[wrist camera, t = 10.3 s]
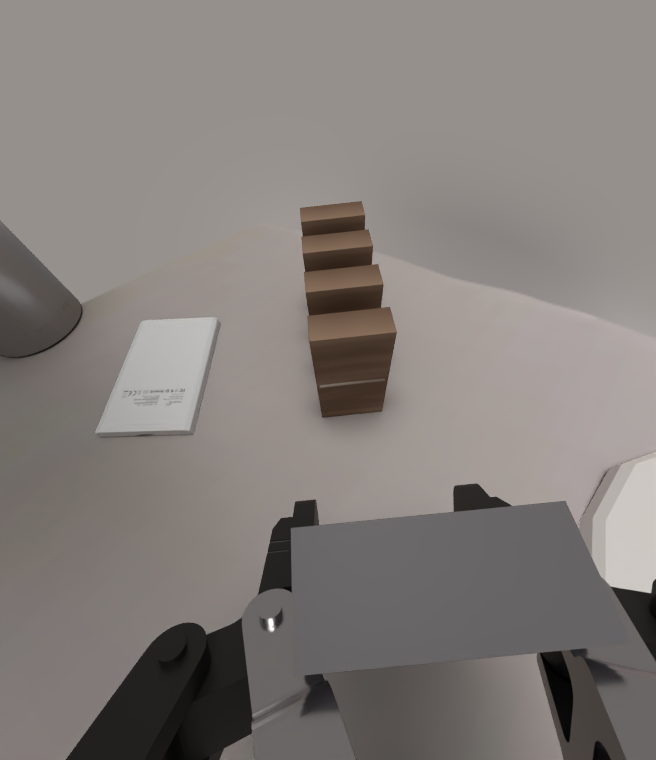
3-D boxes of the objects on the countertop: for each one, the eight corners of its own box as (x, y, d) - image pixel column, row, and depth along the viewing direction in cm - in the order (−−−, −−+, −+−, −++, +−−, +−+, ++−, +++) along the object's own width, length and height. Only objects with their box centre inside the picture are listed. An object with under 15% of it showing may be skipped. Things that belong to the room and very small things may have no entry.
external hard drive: (222, 327, 33) (196, 437, 27) (148, 330, 34) (104, 439, 27) (217, 316, 32) (188, 429, 25) (139, 320, 32) (90, 432, 26)
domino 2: (366, 337, 31) (372, 246, 22) (315, 343, 31) (302, 253, 22) (363, 322, 32) (368, 229, 23) (314, 327, 32) (301, 236, 23)
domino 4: (381, 411, 26) (396, 332, 18) (322, 417, 26) (309, 341, 18) (377, 390, 27) (389, 306, 19) (320, 396, 27) (307, 315, 19)
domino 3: (373, 371, 28) (383, 284, 20) (318, 377, 28) (305, 292, 20) (370, 353, 29) (377, 264, 21) (317, 359, 29) (304, 272, 21)
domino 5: (449, 601, 13) (632, 645, 5) (329, 613, 13) (293, 678, 5) (436, 546, 14) (564, 499, 6) (325, 557, 14) (290, 526, 6)
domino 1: (361, 308, 33) (365, 215, 24) (313, 313, 33) (301, 222, 24) (358, 295, 34) (361, 201, 25) (312, 300, 34) (300, 207, 25)
